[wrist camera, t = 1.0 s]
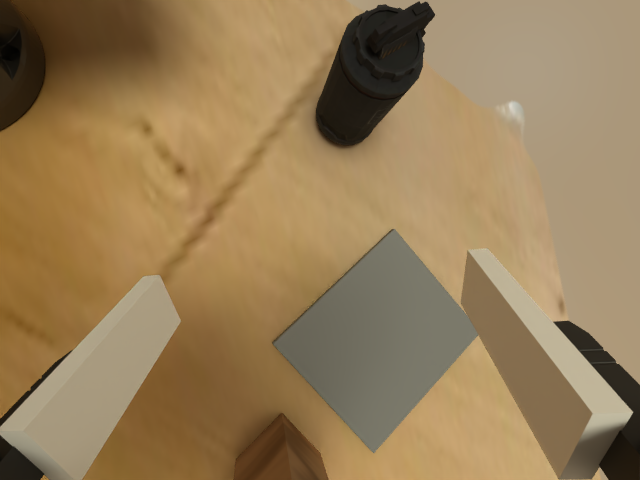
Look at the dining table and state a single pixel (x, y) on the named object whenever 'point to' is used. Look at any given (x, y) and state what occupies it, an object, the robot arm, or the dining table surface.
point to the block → (280, 456)
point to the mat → (378, 339)
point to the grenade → (372, 70)
